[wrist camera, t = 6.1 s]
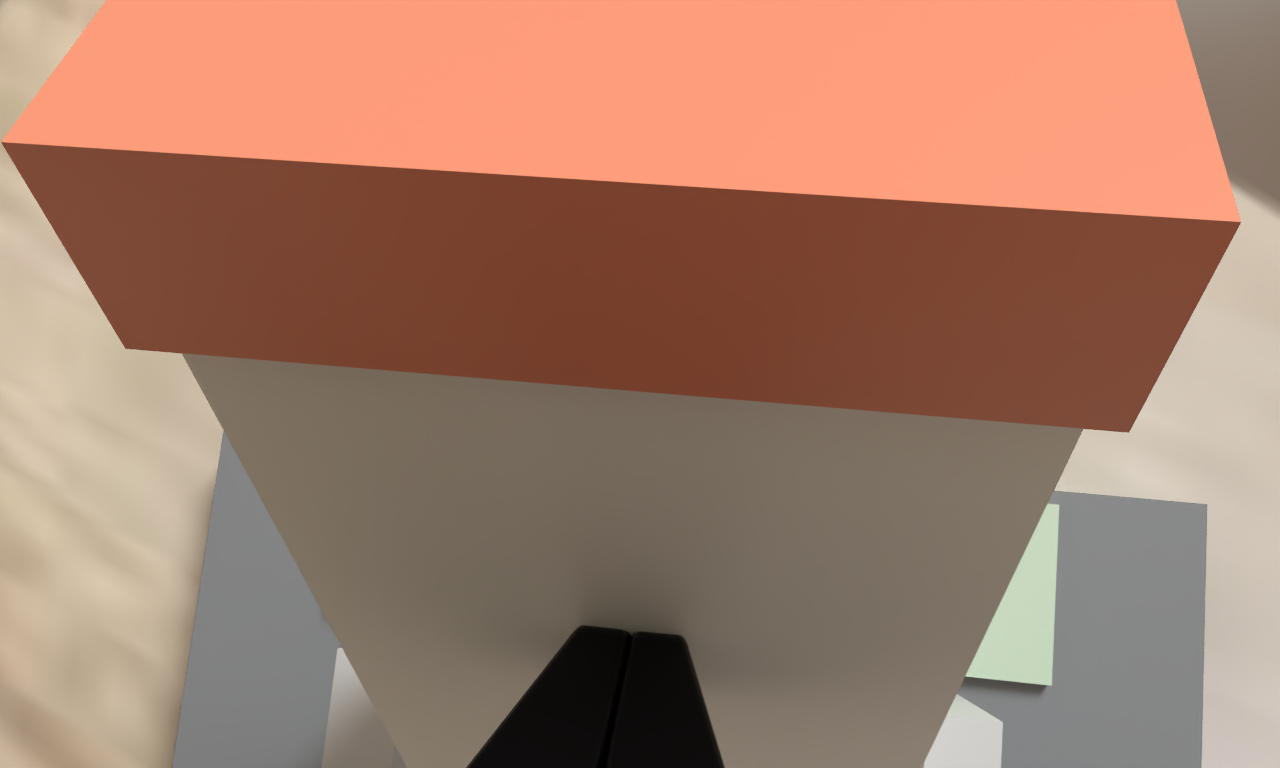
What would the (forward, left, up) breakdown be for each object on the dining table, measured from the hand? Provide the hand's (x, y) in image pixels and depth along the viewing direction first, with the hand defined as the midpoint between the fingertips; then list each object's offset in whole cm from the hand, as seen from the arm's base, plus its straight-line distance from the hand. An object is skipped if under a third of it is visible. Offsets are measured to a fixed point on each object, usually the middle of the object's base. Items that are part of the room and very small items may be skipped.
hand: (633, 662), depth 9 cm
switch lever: (-2, -1, -5) cm, 5 cm away
